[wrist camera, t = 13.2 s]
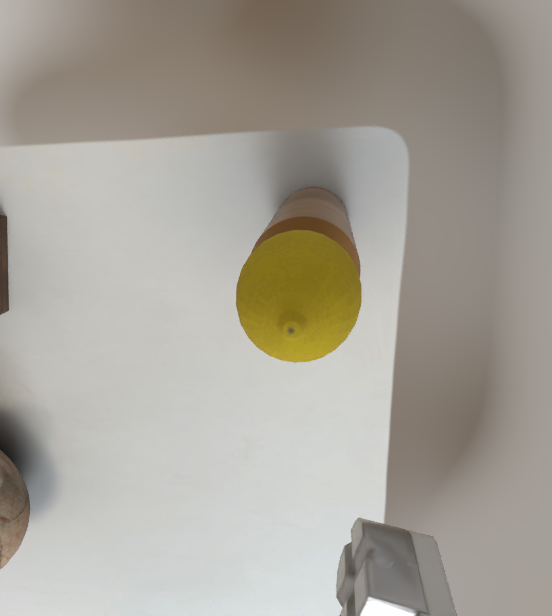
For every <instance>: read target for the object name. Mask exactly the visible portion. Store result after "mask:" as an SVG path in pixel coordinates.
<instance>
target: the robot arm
mask: <svg viewBox="0 0 552 616" xmlns="http://www.w3.org/2000/svg"><path fill="white" fill-rule="evenodd" d="M351 539H352V542H351V543H349V544H347V545H345V546H344V549H343V552H342V554H341V557H340V561H339V566H338V571H337V584H336V587H337V599H338V601H339V602H340V604H341V606H342V608H343V609H342V611H341V614H340V616H457V614H456V610H455V606H454V603H453V599H452V596H451V592H450V588H449V585H448V582H447V578H446V574H445V570H444V567H443V563H442V560H441V556H440V553H439V549H438V545H437V542H436V540H435V539H434V538H433V537H432V536H429V535H425V534H421V533H417V532H413V531H409V530H407V531H406V530H405V529H401V528H398V527H393V526H390V525H386V524H382V523H378V522H374V521H370V520H366V519H362V518H358V519H357V520H356V521H355V523H354V525H353V527H352V529H351Z"/></svg>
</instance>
